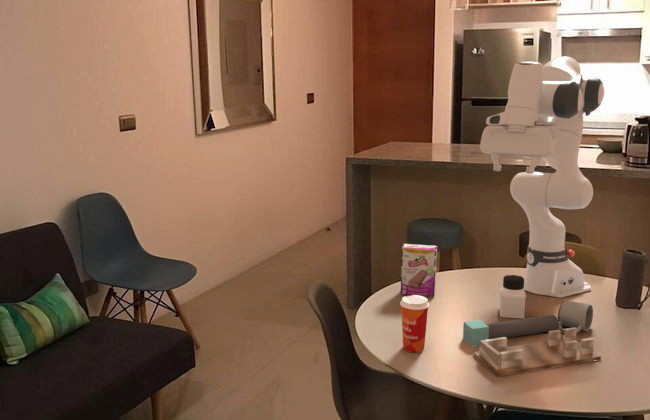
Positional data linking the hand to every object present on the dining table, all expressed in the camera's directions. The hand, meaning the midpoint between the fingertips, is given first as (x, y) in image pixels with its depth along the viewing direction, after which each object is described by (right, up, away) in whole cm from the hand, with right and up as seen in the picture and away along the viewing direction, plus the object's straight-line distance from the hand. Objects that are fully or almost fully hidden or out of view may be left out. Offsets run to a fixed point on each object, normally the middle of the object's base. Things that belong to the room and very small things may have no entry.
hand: (513, 172), depth 180 cm
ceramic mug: (+21, -45, +13) cm, 51 cm away
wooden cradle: (+5, -49, -5) cm, 49 cm away
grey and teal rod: (+2, -45, +8) cm, 46 cm away
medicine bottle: (+6, -42, +24) cm, 49 cm away
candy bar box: (-20, -38, +41) cm, 59 cm away
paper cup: (-26, -48, +1) cm, 55 cm away
